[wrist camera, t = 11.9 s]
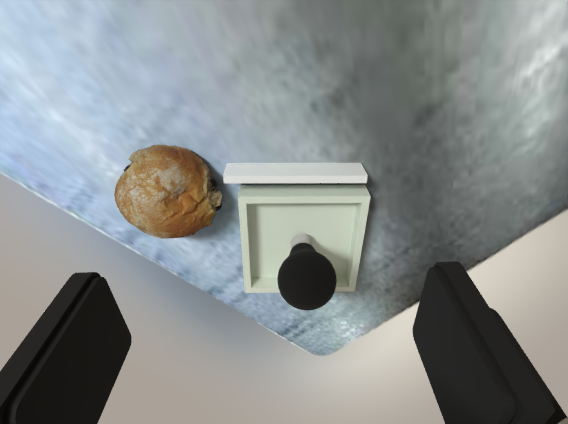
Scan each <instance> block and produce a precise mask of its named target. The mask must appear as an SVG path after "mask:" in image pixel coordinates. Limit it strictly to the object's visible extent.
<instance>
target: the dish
mask: <svg viewBox="0 0 568 424" xmlns="http://www.w3.org/2000/svg"><path fill="white" fill-rule="evenodd" d="M370 197H371V196H370V194H369V192H368V190H367V188H366V186H365V185H240V188H239V193H238V206H239V219H240V233H241V247H242V260H243V274H244V287H245V293H266V292H280V291H279V288H278V282H277V277H278V272H279V268H280V267H281V265H282V263H283V261H284V260H285V259H286V258H287V257H288V256H289V254H290V251H291V240H292V238H293V237H294V236H296V235H298V234H305V235H308V236H309V237H310V238H311V240H312V245H313V247H314V248H315V250H316V252H318V253H320V254H322V255H324V256H325V257H326V258H327V259H328V260H329V261H330V262H331V264H332V265H333V267H334V269H335V272H336V278H337V282H336V289H335V292H355V286H356V280H357V274H358V269H359V263H360V257H361V251H362V245H363V239H364V233H365V227H366V221H367V215H368V209H369V203H370Z"/></svg>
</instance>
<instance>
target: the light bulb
mask: <svg viewBox="0 0 568 424" xmlns="http://www.w3.org/2000/svg"><path fill="white" fill-rule="evenodd" d="M277 282H278V288H279V291H280V293H281V295H282V297H283V298H284V299H285V300H286V301H287V303H289V304H290V305H292V306H293V307H295V308H297V309H301V310H314V309H317V308H320V307H322V306H323V305H325V304H326V303H327V302H328V301H329V300H330V299H331V297H332V296H333V294H334V292H335V289H336V282H337V278H336V272H335V269H334V267H333V265H332V264H331V262H330V261H329V260H328V259H327V258H326V257H325V256H324V255H322V254H320V253H318V252H316V250H315V248H314V247H313V245H312V240H311V238H310V237H309V236H308V235H305V234H298V235H296V236H294V237H293V238H292V240H291V251H290V254H289V256H288V257H287V258H286V259H285V260H284V261H283V263H282V265H281V267H280V268H279V272H278V277H277Z"/></svg>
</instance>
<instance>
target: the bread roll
mask: <svg viewBox="0 0 568 424" xmlns="http://www.w3.org/2000/svg"><path fill="white" fill-rule="evenodd" d="M129 160H130V161H132V162H131V164H130V165H128V166H127V167H126V168H125V170H124V173H123V175H122V176H121V177H120V179H119V180H118V182H117V185H116V188H115V201H116V204H117V207H118V208H119V210H120V212H121V214H122V215H123V216H124V218H125V219H126V220H127V221H128V222H129V223H131V224H132V225H134V226H135V227H137V228H138V229H140V230H141V231H143V232H145V233H147V234H149V235H152V236H154V237H158V238H180V237H185V236H189V235H191V234H192V235H194V233H195V232H196V231H198V230H199V229H201V228H203V227H205V226H210V225H211V223H212V220H213V218H214V216H215V215H216V211H218V210H220V208H221V206H222V194H221V191H220V190H219V192H218V191H217V189H216V187H217V182H216V181H215V180H214V179H213V178H212V177H211V173H210V169H209V168H208V167H207V166H206V165H205V164H204V162H203V161H202V159H200V158H199V157H198V156H197V155H195V154H194V153H193V152H191V151H190V150H188V149H186V148H181V147H177V146H167V145H153V146H151V147H148V148H145V149H142V150H138V151H136V152H134V153H133V154H132V155H131V156H130V158H129Z"/></svg>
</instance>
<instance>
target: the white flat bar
mask: <svg viewBox="0 0 568 424" xmlns="http://www.w3.org/2000/svg"><path fill="white" fill-rule="evenodd" d="M367 177H368V175H367V173H366V172H365V170H364V168H363V166H362V164H361V163H227V164H226V168H225V171H224V175H223V180H224V183H367Z"/></svg>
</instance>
